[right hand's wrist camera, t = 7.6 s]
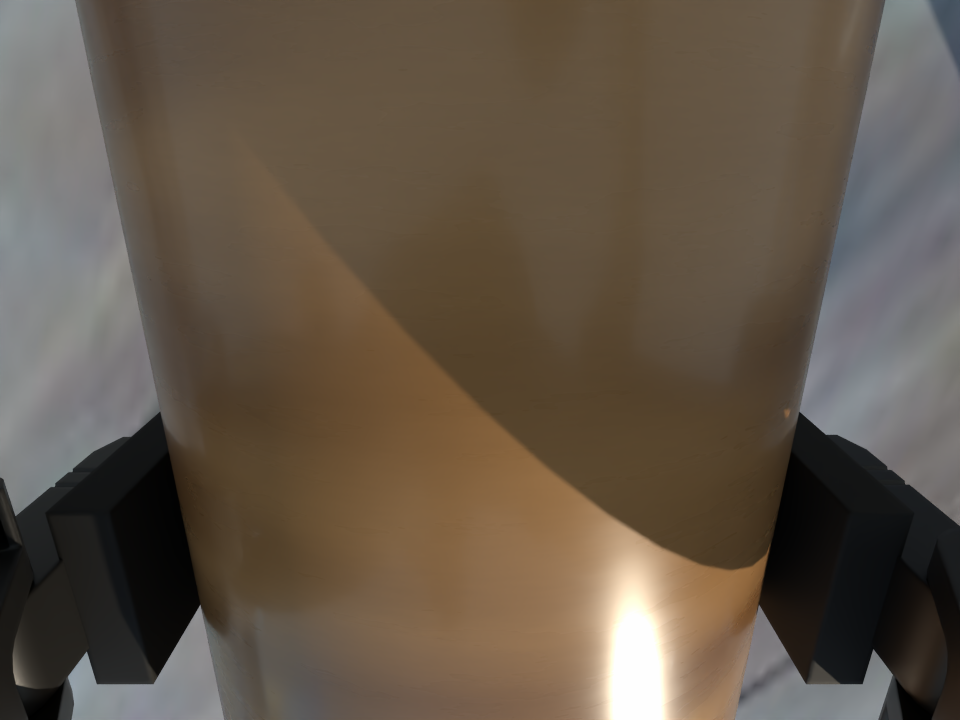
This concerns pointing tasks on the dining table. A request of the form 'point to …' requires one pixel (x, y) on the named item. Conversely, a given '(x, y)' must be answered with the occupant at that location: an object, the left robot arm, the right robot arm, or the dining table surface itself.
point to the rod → (479, 332)
